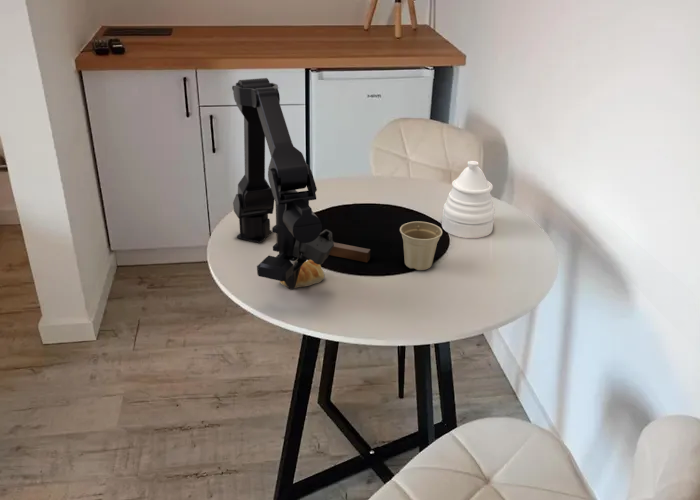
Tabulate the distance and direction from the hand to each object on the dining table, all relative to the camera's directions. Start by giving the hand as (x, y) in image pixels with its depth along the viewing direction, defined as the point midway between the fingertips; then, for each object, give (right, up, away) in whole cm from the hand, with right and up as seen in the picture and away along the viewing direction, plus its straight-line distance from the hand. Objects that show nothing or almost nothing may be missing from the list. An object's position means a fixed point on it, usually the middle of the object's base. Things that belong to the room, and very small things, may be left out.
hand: (291, 288), depth 142 cm
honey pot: (+42, +14, +31) cm, 54 cm away
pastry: (+2, +1, +5) cm, 6 cm away
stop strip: (+7, +7, +17) cm, 20 cm away
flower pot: (+28, +5, +13) cm, 31 cm away
